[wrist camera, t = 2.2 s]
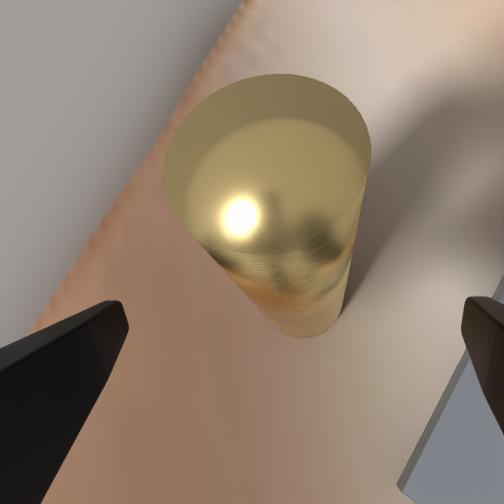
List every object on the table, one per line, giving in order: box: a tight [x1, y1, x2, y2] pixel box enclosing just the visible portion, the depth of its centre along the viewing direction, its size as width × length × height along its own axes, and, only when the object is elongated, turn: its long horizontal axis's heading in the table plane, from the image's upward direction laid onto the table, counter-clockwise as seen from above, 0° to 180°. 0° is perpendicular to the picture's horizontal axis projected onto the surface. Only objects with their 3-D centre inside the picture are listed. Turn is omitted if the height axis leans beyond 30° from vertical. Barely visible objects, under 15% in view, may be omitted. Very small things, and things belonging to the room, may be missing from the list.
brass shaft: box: [163, 74, 371, 338], centre depth 13 cm, size 4×4×13 cm
